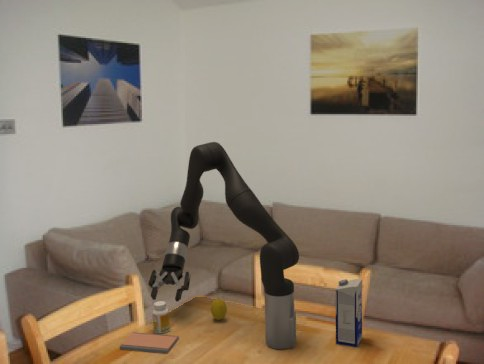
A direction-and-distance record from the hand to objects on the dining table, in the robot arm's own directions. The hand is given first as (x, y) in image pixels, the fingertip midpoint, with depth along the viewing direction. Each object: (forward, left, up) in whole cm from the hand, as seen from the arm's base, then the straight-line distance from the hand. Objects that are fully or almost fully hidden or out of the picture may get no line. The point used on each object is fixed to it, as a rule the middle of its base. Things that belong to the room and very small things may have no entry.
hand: (165, 299), depth 189 cm
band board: (0, +14, -9) cm, 17 cm away
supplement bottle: (0, +4, -9) cm, 10 cm away
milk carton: (-62, +1, -9) cm, 63 cm away
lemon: (-17, -7, -9) cm, 20 cm away
